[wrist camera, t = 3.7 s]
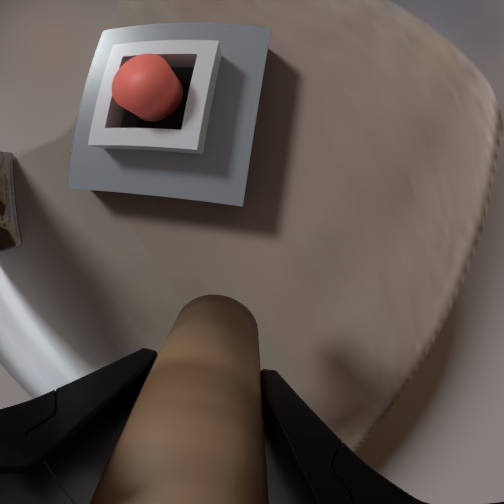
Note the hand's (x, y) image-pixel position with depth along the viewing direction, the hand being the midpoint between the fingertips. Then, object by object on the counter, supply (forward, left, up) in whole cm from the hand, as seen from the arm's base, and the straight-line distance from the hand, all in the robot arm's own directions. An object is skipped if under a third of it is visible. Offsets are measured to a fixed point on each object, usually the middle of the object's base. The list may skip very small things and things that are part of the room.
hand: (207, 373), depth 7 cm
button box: (+10, +6, -13) cm, 17 cm away
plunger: (+10, +6, -9) cm, 15 cm away
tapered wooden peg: (0, 0, -3) cm, 2 cm away
